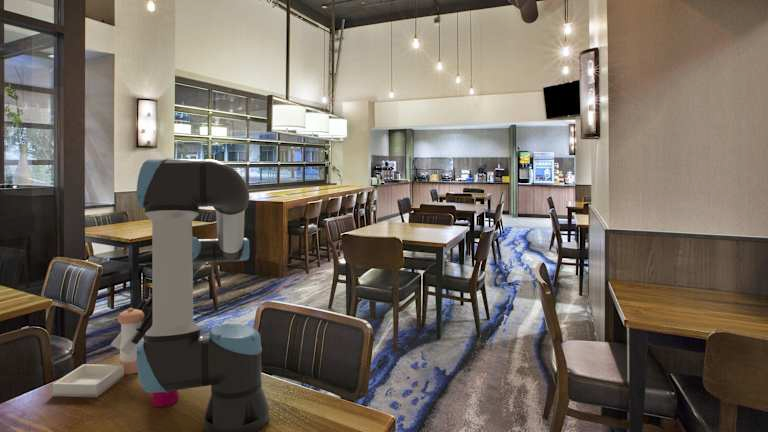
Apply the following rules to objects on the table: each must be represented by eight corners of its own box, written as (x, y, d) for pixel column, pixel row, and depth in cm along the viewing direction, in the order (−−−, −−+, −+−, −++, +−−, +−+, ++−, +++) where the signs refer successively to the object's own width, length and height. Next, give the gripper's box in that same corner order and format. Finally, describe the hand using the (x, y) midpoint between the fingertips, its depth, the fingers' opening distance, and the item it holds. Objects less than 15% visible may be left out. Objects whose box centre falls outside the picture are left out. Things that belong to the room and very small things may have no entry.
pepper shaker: (144, 361, 138) (141, 303, 136) (149, 369, 132) (146, 309, 131) (117, 367, 133) (114, 307, 132) (121, 376, 128) (118, 313, 126)
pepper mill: (158, 411, 110) (155, 335, 108) (145, 402, 114) (142, 328, 112) (185, 400, 116) (183, 327, 114) (172, 391, 120) (169, 321, 118)
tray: (97, 397, 116) (96, 384, 116) (53, 396, 116) (52, 383, 116) (124, 376, 128) (123, 365, 128) (84, 375, 128) (83, 364, 128)
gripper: (195, 296, 137) (143, 363, 126) (165, 286, 149) (116, 347, 137) (178, 283, 133) (123, 351, 121) (149, 274, 144) (96, 336, 133)
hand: (119, 349), depth 129 cm, fingers closed on pepper shaker, 6 cm apart
